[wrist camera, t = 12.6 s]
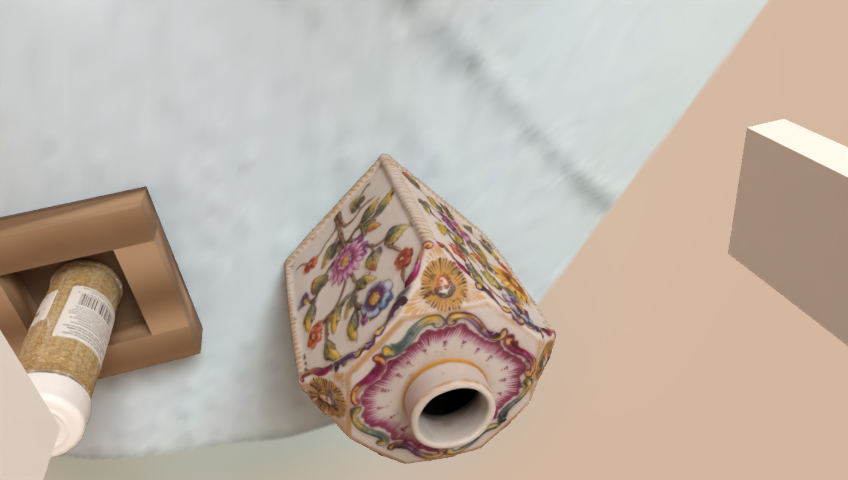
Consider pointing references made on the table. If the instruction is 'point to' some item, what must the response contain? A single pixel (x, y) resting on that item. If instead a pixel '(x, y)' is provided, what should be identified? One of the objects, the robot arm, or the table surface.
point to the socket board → (114, 247)
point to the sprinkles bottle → (71, 343)
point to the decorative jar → (411, 322)
